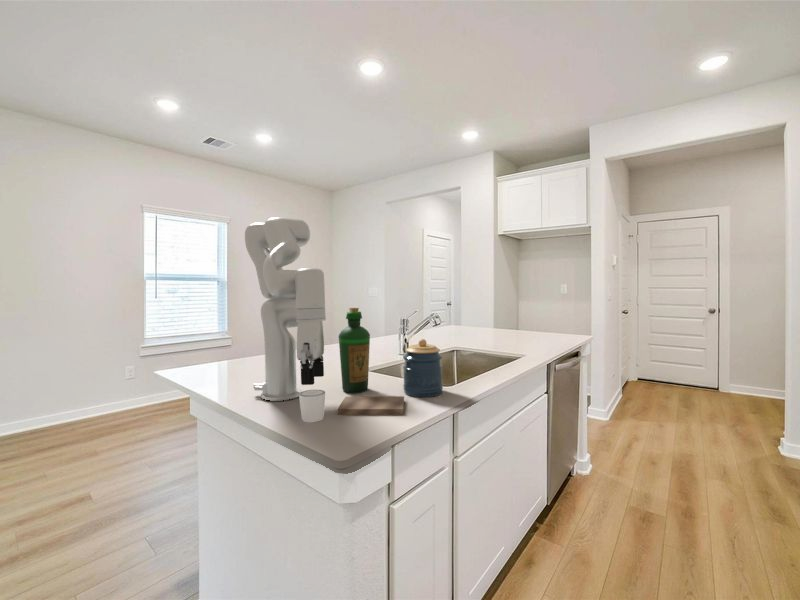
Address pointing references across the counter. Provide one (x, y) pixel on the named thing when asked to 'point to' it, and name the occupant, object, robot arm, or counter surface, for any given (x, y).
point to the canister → (422, 370)
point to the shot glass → (312, 405)
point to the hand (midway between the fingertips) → (313, 380)
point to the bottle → (354, 354)
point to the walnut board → (372, 405)
